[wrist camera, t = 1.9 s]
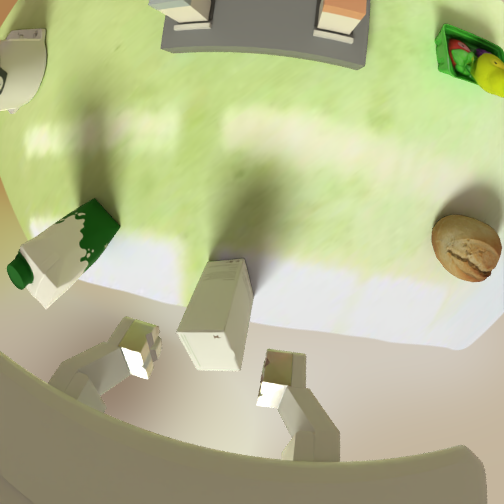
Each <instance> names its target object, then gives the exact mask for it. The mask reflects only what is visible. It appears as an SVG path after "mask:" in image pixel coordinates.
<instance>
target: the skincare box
mask: <svg viewBox="0 0 504 504" xmlns="http://www.w3.org/2000/svg"><path fill="white" fill-rule="evenodd" d="M253 299H254V296H253V291H252V287H251V283H250V279H249V275H248V271H247V266H246V263H245V259H232V260H222V261H211V262H207V264H206V266H205V268H204V271H203V273H202V275H201V277H200V279H199V282H198V284H197V286H196V288H195V291H194V293H193V295H192V297H191V300H190V302H189V304H188V306H187V309H186V311H185V313H184V315H183V318H182V321H181V322H180V325H179V327H178V329H177V331H176V332H177V334H178V336H179V338H180V339H181V341H182V343H183V345H184V347H185V349H186V351H187V353H188V354H189V356H190V358H191V360H192V362H193V363H194V365H195V367H196V369H197V370H208V371H210V370H212V371H240V370H241V365H242V360H243V354H244V349H245V343H246V337H247V332H248V326H249V321H250V315H251V309H252V304H253Z"/></svg>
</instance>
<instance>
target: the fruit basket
mask: <svg viewBox="0 0 504 504" xmlns="http://www.w3.org/2000/svg"><path fill="white" fill-rule="evenodd" d="M435 43H436V45H437V46H436V53H437V61H438V64H439V65H438V70H439V71H440V72H443V73H446V74H449V75H451V76H453V77H455V78H459V79H462V80H465V81H468V82H471V83H474V84H477V85H479V86H480V87H481V88H482V89H484V90H485V91H486V92H488V93H491V94H494V95H498V96H500V97H504V52H503V50H502V48H501V47H499V46H498V45H495V44H493V43H491V42H489V41H487V40H485V39H483V38H481V37H479V36H476V35H474V34H472V33H469V32H467V31H464V30H462V29H460V28H457V27H454V26H452V25H449V24H444V25H443V27H442V29H441V32H440V33H439V35H438V36H437V37H436V39H435Z"/></svg>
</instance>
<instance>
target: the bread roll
mask: <svg viewBox="0 0 504 504" xmlns="http://www.w3.org/2000/svg"><path fill="white" fill-rule="evenodd" d="M432 229H433V231H432V245H433V248H434V252H435V254H436V257H437V258H438V260H439V261H440V262H441V264H442V265H443V267H444V268H445V269H446V270H447V271H449V272H450V273H451V274H452V275H454V276H456V277H457V278H459V279H462V280H465V281H470V282H480V281H483V280H485V279H486V278H487V277H489V276H490V275H491V271H492V269H494V268H495V267H496V265H497V262H498V260H499V258H500V255H501V250H502V246H501V242H500V238H499V236H498V234H497V233H496V231H495V230H494V229H493V228H491V227H490V226H489V225H487V224H485V223H483V222H481V221H479V220H476V219H474V218H470V217H467V216H462V215H449V216H446V217H444V218H442V219H441V220H439V221H438V222H437V223H436V225H435V226H434V227H433V228H432Z"/></svg>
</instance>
